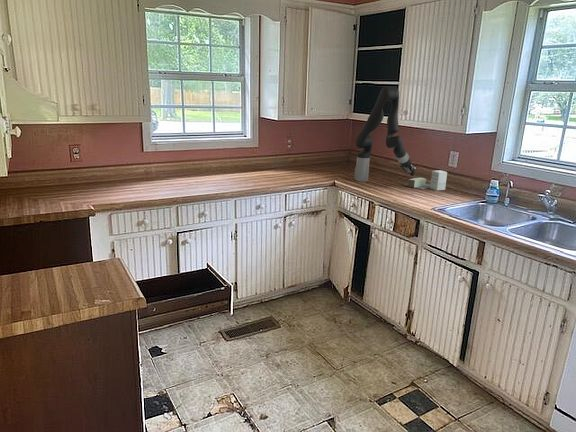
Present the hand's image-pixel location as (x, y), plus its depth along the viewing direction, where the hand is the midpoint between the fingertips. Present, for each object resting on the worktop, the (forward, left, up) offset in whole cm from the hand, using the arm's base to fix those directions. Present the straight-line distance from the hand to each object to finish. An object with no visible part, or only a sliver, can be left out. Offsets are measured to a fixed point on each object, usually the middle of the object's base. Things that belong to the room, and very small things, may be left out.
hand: (412, 174), depth 309 cm
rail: (0, +19, -9) cm, 21 cm away
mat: (0, +10, -9) cm, 13 cm away
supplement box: (+13, +12, -9) cm, 20 cm away
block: (0, -1, -6) cm, 6 cm away
